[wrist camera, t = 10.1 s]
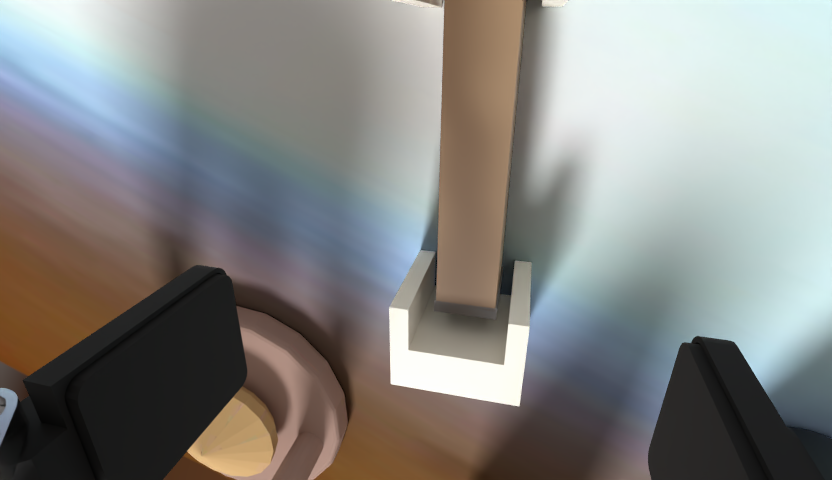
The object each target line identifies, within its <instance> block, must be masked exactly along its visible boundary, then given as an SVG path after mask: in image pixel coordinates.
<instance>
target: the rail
mask: <svg viewBox="0 0 832 480" xmlns="http://www.w3.org/2000/svg"><path fill="white" fill-rule="evenodd" d="M526 2H527V0H445V4H444V39H443V75H442V110H441V145H440V180H439V215H438V251H437V286H436V297H435V300H434V311H435V312H443V313H450V314H457V315H465V316H472V317H479V318H486V319H494V320H496V317H497V311H498V304H499V297H500V290H501V283H502V276H503V266H502V259H503V248H504V238H505V227H506V216H507V206H508V195H509V184H510V174H511V163H512V152H513V141H514V131H515V120H516V109H517V99H518V88H519V77H520V66H521V56H522V45H523V34H524V24H525V13H526Z"/></svg>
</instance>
